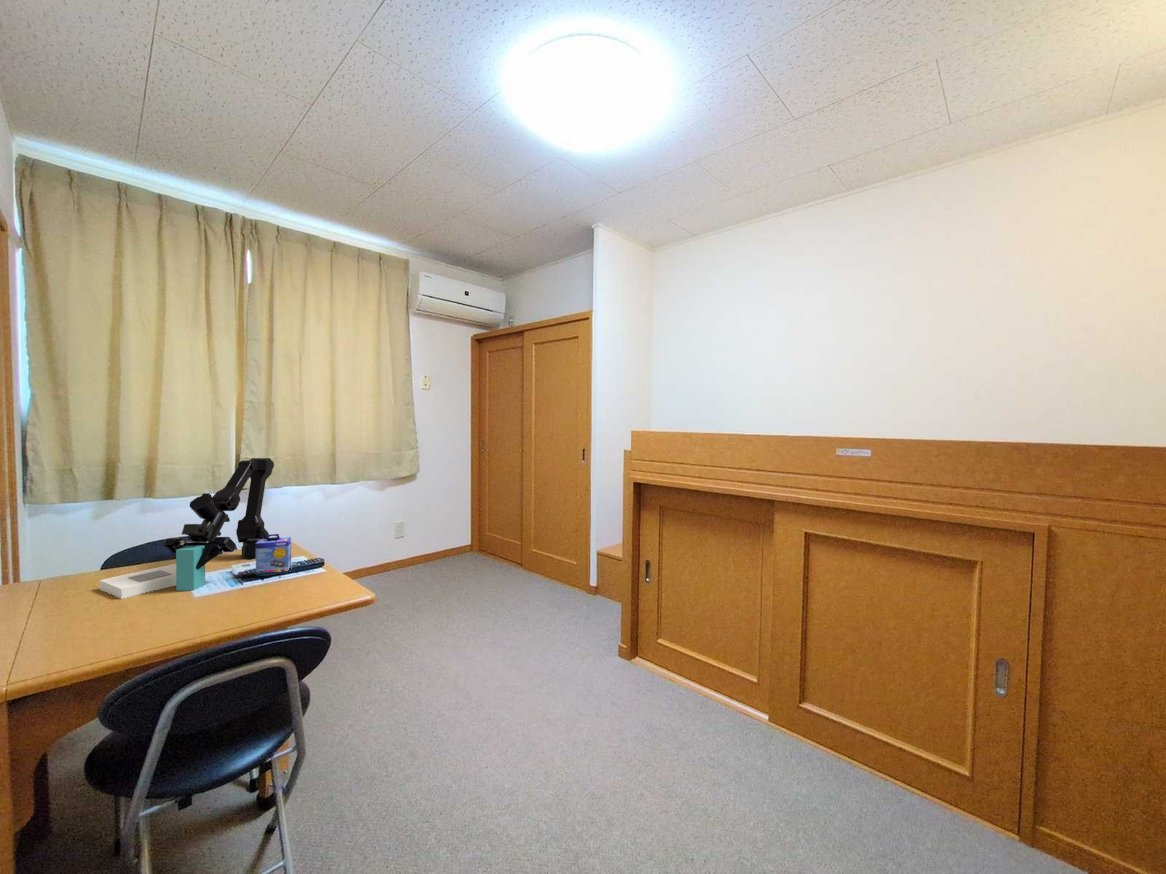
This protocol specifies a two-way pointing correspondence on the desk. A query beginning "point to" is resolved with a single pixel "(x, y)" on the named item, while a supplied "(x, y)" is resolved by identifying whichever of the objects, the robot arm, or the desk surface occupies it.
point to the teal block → (189, 568)
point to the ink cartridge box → (273, 554)
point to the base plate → (140, 582)
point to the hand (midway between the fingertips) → (187, 568)
